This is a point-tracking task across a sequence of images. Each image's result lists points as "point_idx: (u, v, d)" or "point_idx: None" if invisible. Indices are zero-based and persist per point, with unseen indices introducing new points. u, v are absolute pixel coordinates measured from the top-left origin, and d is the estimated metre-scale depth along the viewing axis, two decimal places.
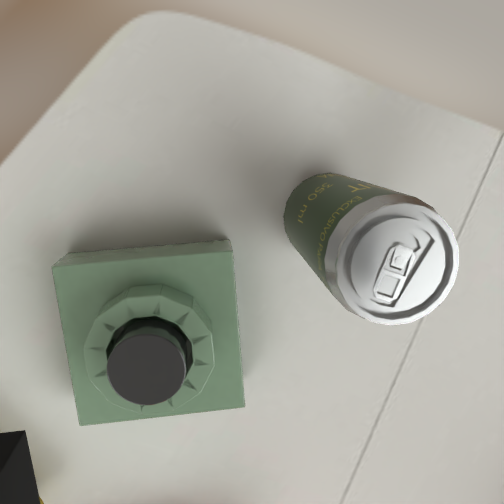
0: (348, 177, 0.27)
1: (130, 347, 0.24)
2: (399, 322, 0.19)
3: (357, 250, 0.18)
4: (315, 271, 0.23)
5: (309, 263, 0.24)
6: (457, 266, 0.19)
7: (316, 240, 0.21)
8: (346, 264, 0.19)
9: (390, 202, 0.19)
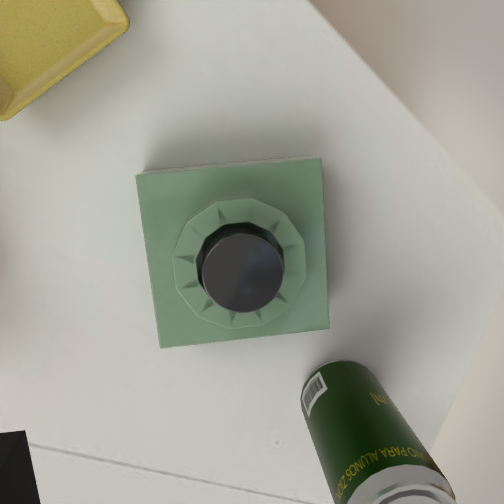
0: None
1: (270, 259, 0.23)
2: None
3: (425, 499, 0.21)
4: (354, 433, 0.24)
5: (349, 419, 0.26)
6: None
7: (399, 441, 0.23)
8: None
9: None
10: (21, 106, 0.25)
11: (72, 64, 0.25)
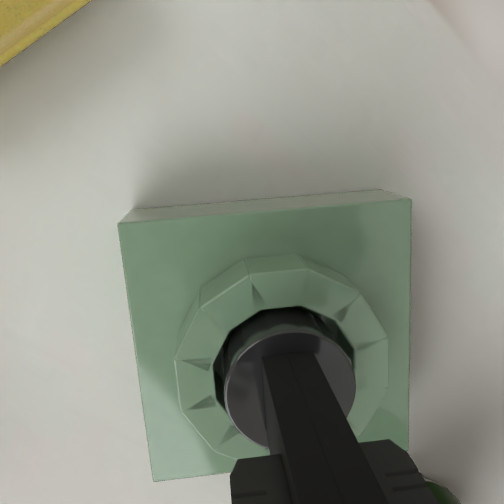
0: None
1: (336, 369, 0.14)
2: None
3: None
4: None
5: None
6: None
7: None
8: None
9: None
10: None
11: (17, 43, 0.15)
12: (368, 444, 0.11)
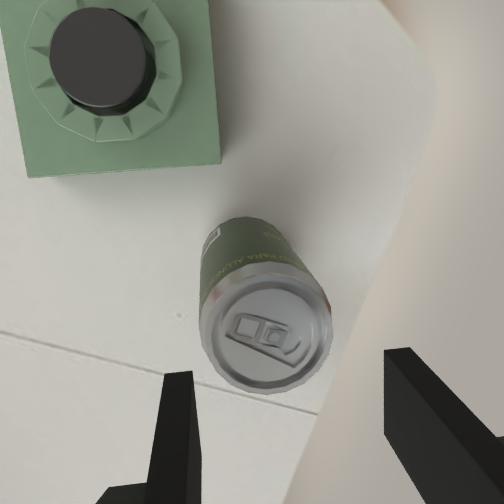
0: None
1: (128, 40, 0.20)
2: (208, 344, 0.18)
3: (287, 294, 0.18)
4: (229, 252, 0.21)
5: (229, 245, 0.23)
6: (266, 393, 0.19)
7: (273, 252, 0.20)
8: (269, 284, 0.18)
9: None
10: None
11: None
12: None
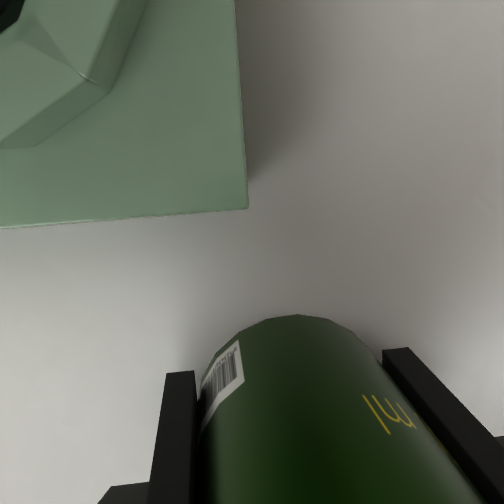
0: None
1: None
2: None
3: None
4: None
5: (285, 488, 0.07)
6: None
7: None
8: None
9: None
10: None
11: None
12: None
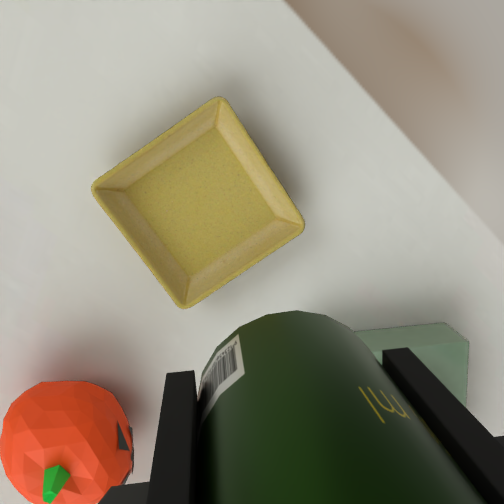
0: None
1: None
2: None
3: None
4: None
5: (283, 471, 0.07)
6: None
7: None
8: None
9: None
10: (202, 297, 0.27)
11: (251, 261, 0.27)
12: None
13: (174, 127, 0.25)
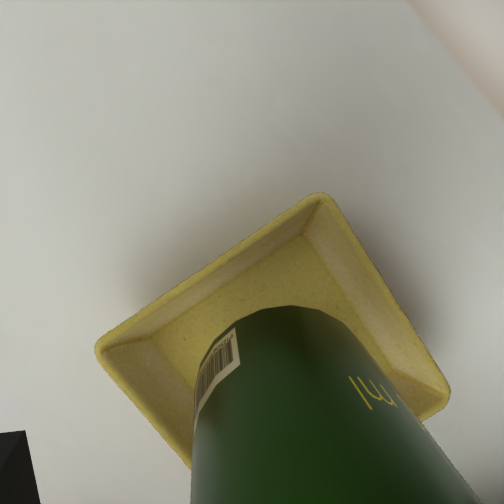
0: None
1: None
2: None
3: None
4: None
5: (275, 453, 0.08)
6: None
7: None
8: None
9: None
10: None
11: None
12: None
13: (240, 246, 0.14)
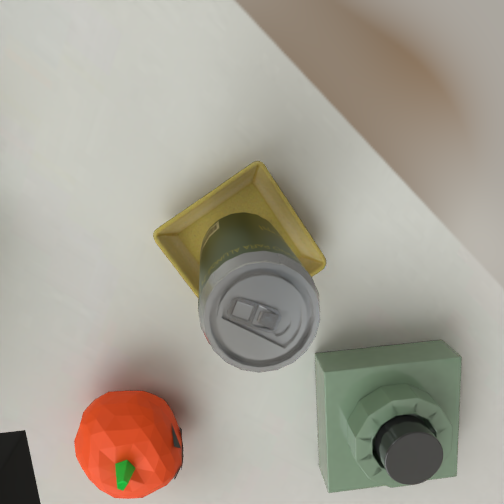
0: None
1: (435, 448, 0.31)
2: (206, 324, 0.20)
3: (278, 280, 0.20)
4: (227, 243, 0.23)
5: (227, 237, 0.24)
6: (259, 371, 0.21)
7: (267, 243, 0.22)
8: (263, 271, 0.20)
9: None
10: None
11: None
12: None
13: (221, 186, 0.31)
